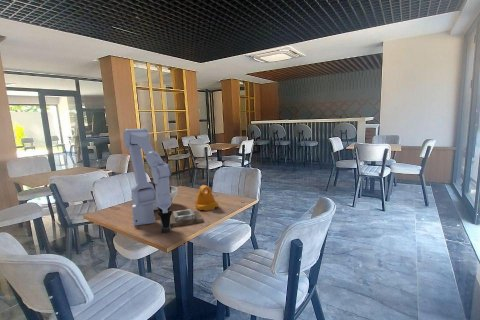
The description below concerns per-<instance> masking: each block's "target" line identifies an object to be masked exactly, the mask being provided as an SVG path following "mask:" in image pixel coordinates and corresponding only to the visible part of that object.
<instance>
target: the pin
mask: <svg viewBox="0 0 480 320" xmlns="http://www.w3.org/2000/svg"><path fill="white" fill-rule="evenodd" d="M159 218H160V217H159ZM159 221H160V222H159V223H160V233H161V234H168V233H170V232H172V229H171V228H172V227H171V225H170V223H169V227H167V228H164V227H163V224H162V221H161V218H160V219H159Z"/></svg>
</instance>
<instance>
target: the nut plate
mask: <svg viewBox="0 0 480 320" xmlns="http://www.w3.org/2000/svg"><path fill="white" fill-rule="evenodd" d="M203 222H204V217H202V214H201V213H200V210H195V211H194V210H193V208H188V209H180V210H175V211H174V210H172V214H171V217H170V225H171V228H174V227H179V226H186V225H191V224H199V223H203Z"/></svg>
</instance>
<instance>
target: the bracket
mask: <svg viewBox="0 0 480 320" xmlns="http://www.w3.org/2000/svg"><path fill="white" fill-rule="evenodd" d="M194 205H195V208H196V209H197V210H198V211H210V210H215V208H218V207H219V202H218V201H216V200H215V198H214V196H213V193H212V188H211V187H209V186H208V185H207V184H202V185H201V186H199V190H198V192H197V196H196V199H195V203H194Z"/></svg>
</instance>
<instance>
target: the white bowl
mask: <svg viewBox="0 0 480 320" xmlns="http://www.w3.org/2000/svg"><path fill="white" fill-rule="evenodd" d="M148 182H149V183H150V184H152V185H153V186H154V189H155V191H156V188H155V183H154V181H153V180H152V181H148ZM169 185H170V183H169ZM144 189H147V188H144ZM144 189H139V190H138V191H140V190H144ZM178 193H179V189H178V187H177V186H174V185H170V198H171V205H172V204H173V203H174V199H175V198H176V197H177V196H178V195H177V194H178ZM129 197H130V199H131V200H132V192H130V194H129ZM154 204H157V200H156V199H155V200H154V202H153V210H154V211H157V210H158V211H159V209H158V208H157V207H154Z"/></svg>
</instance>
